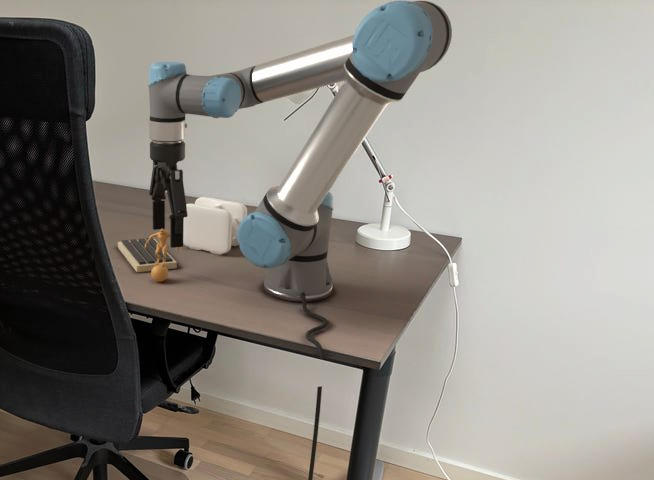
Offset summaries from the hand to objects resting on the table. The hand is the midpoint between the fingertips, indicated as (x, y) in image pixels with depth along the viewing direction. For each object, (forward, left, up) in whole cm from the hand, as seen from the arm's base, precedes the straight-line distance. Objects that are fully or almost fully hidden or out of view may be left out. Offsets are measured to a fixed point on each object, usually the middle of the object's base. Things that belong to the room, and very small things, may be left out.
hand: (167, 237), depth 166 cm
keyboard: (+18, 0, -11) cm, 21 cm away
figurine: (+2, +1, -11) cm, 11 cm away
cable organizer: (+21, -19, -11) cm, 30 cm away
